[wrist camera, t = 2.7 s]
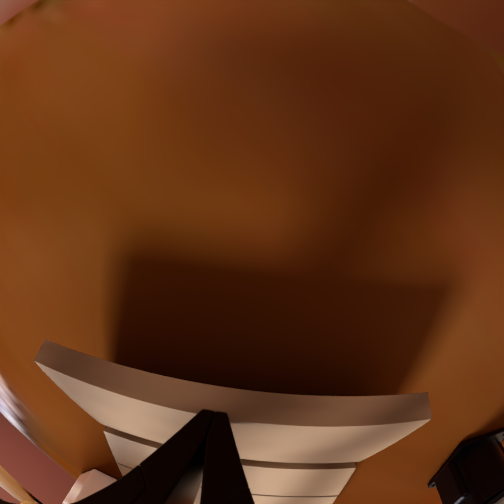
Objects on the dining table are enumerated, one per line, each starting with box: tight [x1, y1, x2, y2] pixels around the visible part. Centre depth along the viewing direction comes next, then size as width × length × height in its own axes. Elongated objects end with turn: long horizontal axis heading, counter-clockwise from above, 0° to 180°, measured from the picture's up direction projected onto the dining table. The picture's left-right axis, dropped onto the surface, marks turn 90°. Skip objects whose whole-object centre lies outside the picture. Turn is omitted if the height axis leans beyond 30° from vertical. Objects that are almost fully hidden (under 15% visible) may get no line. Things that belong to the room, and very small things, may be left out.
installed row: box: [104, 426, 356, 504], centre depth 15 cm, size 16×9×2 cm, turn 85°
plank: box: [34, 340, 432, 463], centre depth 11 cm, size 16×8×1 cm, turn 85°
